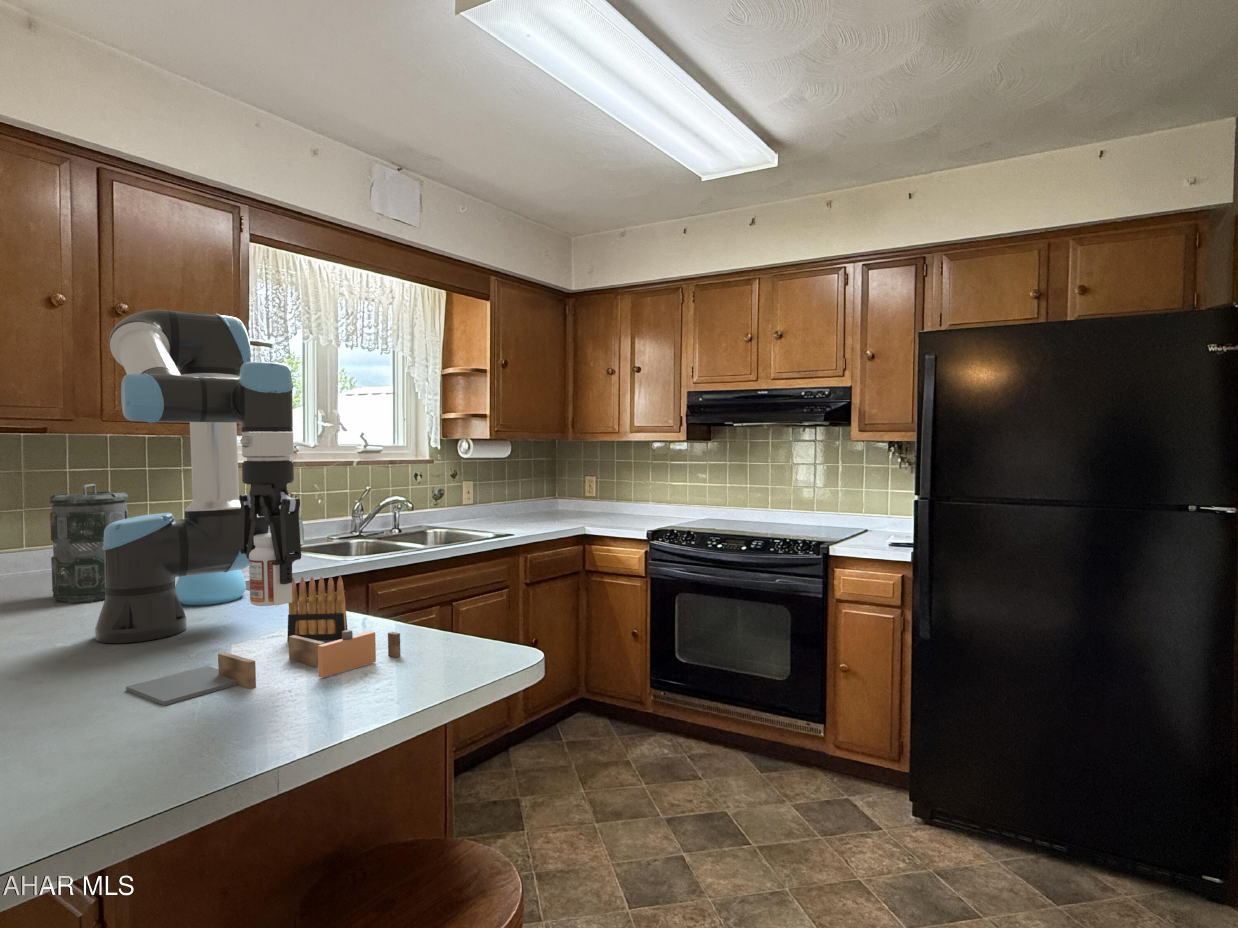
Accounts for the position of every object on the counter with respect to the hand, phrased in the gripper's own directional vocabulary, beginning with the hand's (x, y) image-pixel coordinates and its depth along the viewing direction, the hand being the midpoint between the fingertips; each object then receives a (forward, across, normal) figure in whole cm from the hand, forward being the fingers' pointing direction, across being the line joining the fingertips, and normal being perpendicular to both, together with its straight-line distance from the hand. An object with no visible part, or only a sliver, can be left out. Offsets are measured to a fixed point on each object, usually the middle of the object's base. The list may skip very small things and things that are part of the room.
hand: (270, 600), depth 118 cm
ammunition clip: (+12, -11, +16) cm, 23 cm away
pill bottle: (+1, 0, 0) cm, 1 cm away
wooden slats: (+12, +4, +5) cm, 13 cm away
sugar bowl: (+14, -66, +24) cm, 72 cm away
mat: (+12, -4, -11) cm, 17 cm away
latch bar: (+12, +10, +7) cm, 17 cm away
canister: (+14, -95, +10) cm, 97 cm away
